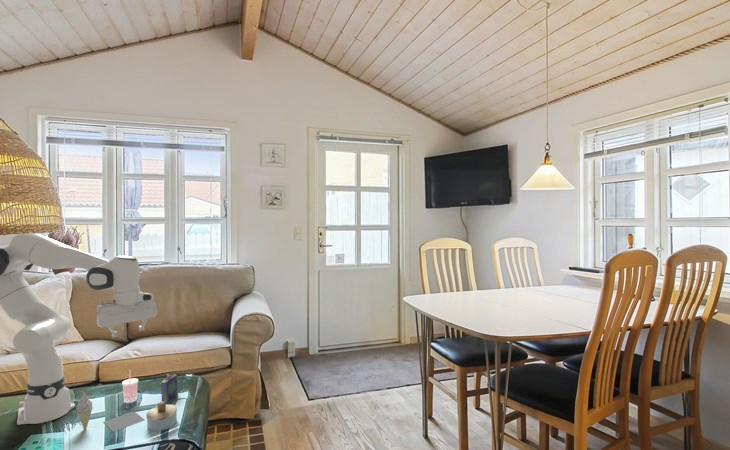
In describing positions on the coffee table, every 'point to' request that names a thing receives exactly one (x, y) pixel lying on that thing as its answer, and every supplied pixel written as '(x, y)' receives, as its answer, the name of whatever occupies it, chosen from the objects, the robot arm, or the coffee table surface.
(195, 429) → the coffee table surface
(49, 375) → the robot arm
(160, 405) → the lid
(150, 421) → the bowl
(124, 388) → the beverage cup
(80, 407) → the ice cream cone
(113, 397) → the coffee table surface
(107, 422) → the mat
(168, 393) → the flask
